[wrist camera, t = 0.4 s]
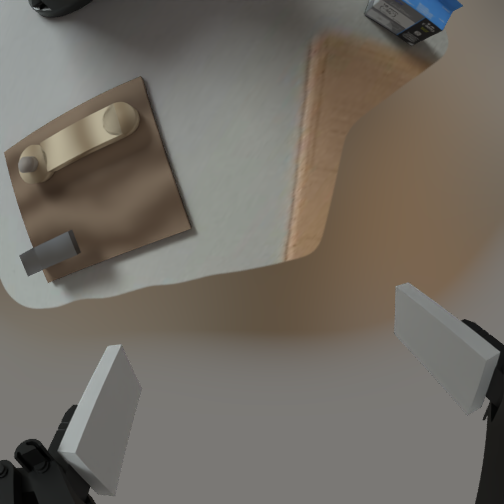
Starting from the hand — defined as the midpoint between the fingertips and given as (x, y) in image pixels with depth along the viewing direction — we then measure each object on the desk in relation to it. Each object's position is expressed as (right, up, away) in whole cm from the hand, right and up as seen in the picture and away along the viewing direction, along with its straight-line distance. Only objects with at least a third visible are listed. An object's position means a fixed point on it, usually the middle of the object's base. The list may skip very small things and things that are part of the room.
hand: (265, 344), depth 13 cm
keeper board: (-22, +13, +22) cm, 34 cm away
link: (-22, +18, +19) cm, 34 cm away
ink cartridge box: (+20, +38, +19) cm, 47 cm away
